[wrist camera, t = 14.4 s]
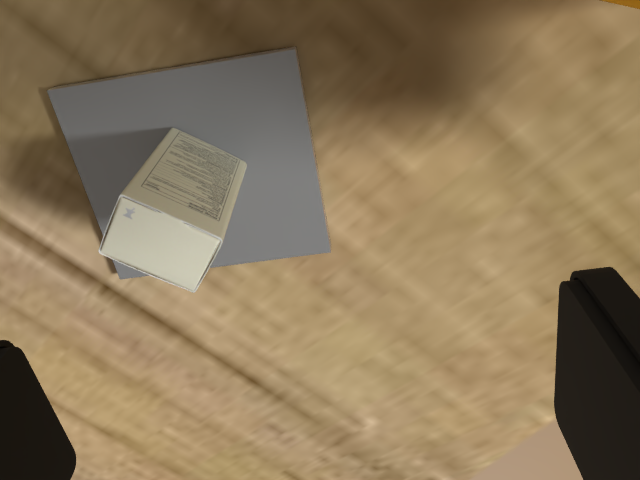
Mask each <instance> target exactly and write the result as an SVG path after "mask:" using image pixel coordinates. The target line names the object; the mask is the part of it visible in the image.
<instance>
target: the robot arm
mask: <svg viewBox="0 0 640 480" xmlns="http://www.w3.org/2000/svg"><path fill="white" fill-rule="evenodd" d="M554 408H555V414H556V419H557V422H558V425H559V427H560V429H561V432H562V434H563V436H564V438H565V440H566V443H567V445H568V447H569V449H570V451H571V453H572V456H573V458H574V460H575V462H576V464H577V467H578V469H579V471H580V473H581V475H582V477H583V480H640V298H639V297H638V296H637V295H636V294H635V292H634V291H633V290H632V289H631V288H630V287H629V285H628V284H627V283H626V282H625V281H624V280H623V278H622V277H621V276H620V275H619V274H618V272H617V271H616V270H615V269H613V268H612V267H604V268H596V269H588V270H580V271H574V272H573V273H572V274H571V277H570V281H563V282H561V284H560V288H559V306H558V328H557V351H556V374H555V396H554ZM75 466H76V454H75V451H74V449H73V447H72V445H71V443H70V441H69V439H68V437H67V435H66V433H65V431H64V429H63V427H62V425H61V424H60V422H59V420H58V418H57V416H56V414H55V412H54V410H53V408H52V406H51V404H50V402H49V400H48V399H47V397H46V395H45V393H44V391H43V389H42V387H41V385H40V383H39V381H38V379H37V377H36V375H35V374H34V372H33V370H32V368H31V366H30V364H29V362H28V360H27V358H26V356H25V354H24V353H23V351H22V350H21V349H20V348H18V347H15V346H14V345H13V344H12V343H11V342H9V341H6V340H0V480H70V479H71V477H72V475H73V473H74V470H75Z"/></svg>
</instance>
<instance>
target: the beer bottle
mask: <svg viewBox="0 0 640 480" xmlns="http://www.w3.org/2000/svg"><path fill="white" fill-rule="evenodd" d="M601 1H606V2H610V3H615V4H619V5H624V6H628V7H633V8H637V9H640V0H601Z"/></svg>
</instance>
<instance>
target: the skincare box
mask: <svg viewBox="0 0 640 480" xmlns="http://www.w3.org/2000/svg"><path fill="white" fill-rule="evenodd" d="M246 167H247V164H246V162H244V161H242V160H240V159H239V158H237V157H235V156H233V155H231V154H229V153H227V152H225V151H223V150H221V149H219V148H217V147H215V146H212V145H210V144H208V143H206V142H204V141H202V140H200V139H198V138H195V137H193V136H191V135H189V134H187V133H184V132H182V131H180V130H178V129H175V128H171V129H170V131H169V132H168V133H167V135H166V136H165V137H164V139H163V140H162V141H161V142H160V144H159V145H158V146H157V148H156V149H155V150H154V151H153V153H152V154H151V155H150V157H149V158H148V159H147V160H146V162H145V163H144V164H143V166H142V167H141V168H140V170H139V171H138V172H137V174H136V175H135V176H134V177H133V179H132V180H131V181H130V183H129V184H128V185H127V187H126V188H125V189H124V190H123V192H122V193H121V194H120V196H119V198H118V200H117V203H116V205H115V207H114V210H113V212H112V215H111V217H110V220H109V222H108V224H107V227H106V230H105V233H104V235H103V238H102V241H101V244H100V248H99V253H100V254H102V255H104V256H106V257H108V258H110V259H113V260H115V261H117V262H119V263H121V264H124V265H126V266H128V267H130V268H133V269H135V270H138V271H140V272H143V273H145V274H147V275H150V276H152V277H155V278H157V279H160V280H162V281H165V282H167V283H170V284H173V285H175V286H178V287H180V288H183V289H186V290H188V291H191V292H196V291H197V289H198V287H199V285H200V283H201V282H202V280H203V278H204V277H205V275H206V273H207V271H208V270H209V268H210V266H211V264H212V262H213V261H214V259H215V257H216V255H217V253H218V251H219V249H220V247H221V245H222V243H223V240H224V237H225V233H226V230H227V227H228V224H229V221H230V217H231V214H232V211H233V208H234V205H235V202H236V199H237V195H238V192H239V189H240V186H241V183H242V180H243V177H244V173H245V170H246Z"/></svg>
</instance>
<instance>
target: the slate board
mask: <svg viewBox="0 0 640 480" xmlns="http://www.w3.org/2000/svg"><path fill="white" fill-rule="evenodd" d="M47 93H48V95H49V98H50V100H51V103H52V106H53V108H54V111H55V113H56V116H57V118H58V121H59V124H60V126H61V129H62V131H63V134H64V136H65V139H66V142H67V144H68V147H69V149H70V152H71V154H72V157H73V160H74V162H75V165H76V167H77V170H78V172H79V175H80V178H81V180H82V183H83V185H84V188H85V191H86V193H87V196H88V198H89V201H90V203H91V206H92V209H93V211H94V214H95V216H96V219H97V221H98V224H99V227H100V229H101V232H102V234H103V235H104V233H105V230H106V227H107V224H108V222H109V220H110V217H111V215H112V212H113V210H114V207H115V205H116V203H117V200H118V198H119V196H120V194H121V193H122V192H123V190H124V189H125V188H126V187H127V185H128V184H129V183H130V181H131V180H132V179H133V177H134V176H135V175H136V174H137V172H138V171H139V170H140V168H141V167H142V166H143V164H144V163H145V162H146V160H147V159H148V158H149V157H150V155H151V154H152V153H153V151H154V150H155V149H156V148H157V146H158V145H159V144H160V142H161V141H162V140H163V139H164V137H165V136H166V135H167V133H168V132H169V131H170V129H171V128H175V129H178V130H180V131H182V132H184V133H187V134H189V135H191V136H193V137H195V138H198V139H200V140H202V141H204V142H206V143H208V144H210V145H212V146H215V147H217V148H219V149H221V150H223V151H225V152H227V153H229V154H231V155H233V156H235V157H237V158H239V159H240V160H242V161H244V162H246V164H247V167H246V170H245V173H244V177H243V180H242V183H241V186H240V189H239V192H238V195H237V199H236V202H235V205H234V208H233V211H232V214H231V217H230V221H229V224H228V227H227V230H226V233H225V237H224V240H223V243H222V245H221V247H220V249H219V251H218V253H217V255H216V257H215V259H214V261H213V262H212V264H211V266H210V268H212V267H220V266H228V265H235V264H243V263H251V262H258V261H266V260H274V259H282V258H289V257H297V256H305V255H313V254H320V253H328V252H331V243H330V237H329V231H328V225H327V220H326V214H325V208H324V203H323V197H322V191H321V185H320V180H319V174H318V168H317V163H316V157H315V151H314V145H313V140H312V134H311V128H310V123H309V117H308V111H307V105H306V100H305V94H304V88H303V83H302V77H301V71H300V65H299V60H298V54H297V48H296V46H295V47H289V48H283V49H278V50H272V51H266V52H260V53H254V54H248V55H242V56H236V57H230V58H224V59H218V60H212V61H206V62H200V63H194V64H188V65H182V66H176V67H170V68H164V69H158V70H152V71H146V72H140V73H134V74H128V75H122V76H116V77H110V78H104V79H98V80H92V81H86V82H80V83H74V84H68V85H62V86H56V87H53V88H51V89H49V90H47ZM112 260H113V259H112ZM113 263H114V265H115V268H116V270H117V273H118V276H119V278H120V279H127V278H135V277H142V276H150V275H147V274H145V273H143V272H140V271H138V270H135V269H133V268H130V267H128V266H126V265H124V264H121V263H119V262H117V261H115V260H113Z"/></svg>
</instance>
